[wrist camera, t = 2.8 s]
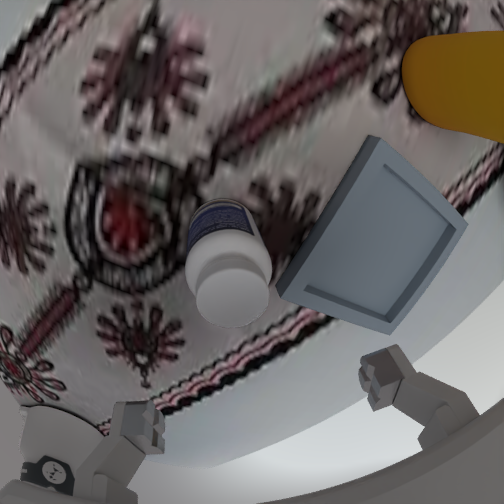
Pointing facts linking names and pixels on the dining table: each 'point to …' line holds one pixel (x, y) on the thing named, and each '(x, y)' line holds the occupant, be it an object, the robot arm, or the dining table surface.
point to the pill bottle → (227, 264)
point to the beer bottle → (458, 82)
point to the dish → (374, 243)
